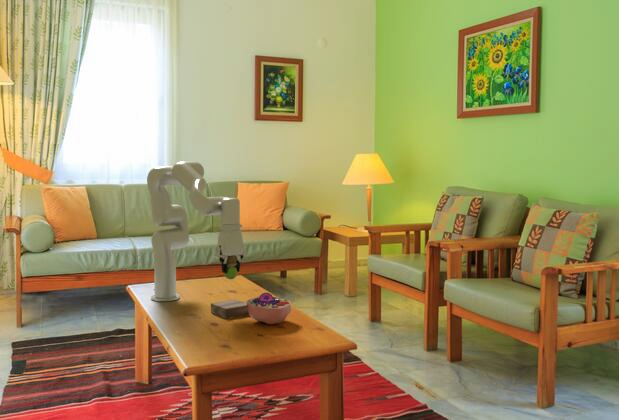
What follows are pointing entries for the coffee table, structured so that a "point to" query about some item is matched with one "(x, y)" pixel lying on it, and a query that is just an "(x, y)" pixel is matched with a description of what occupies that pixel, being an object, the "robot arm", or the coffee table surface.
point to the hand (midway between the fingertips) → (230, 271)
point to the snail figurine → (231, 267)
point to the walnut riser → (229, 308)
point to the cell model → (269, 308)
